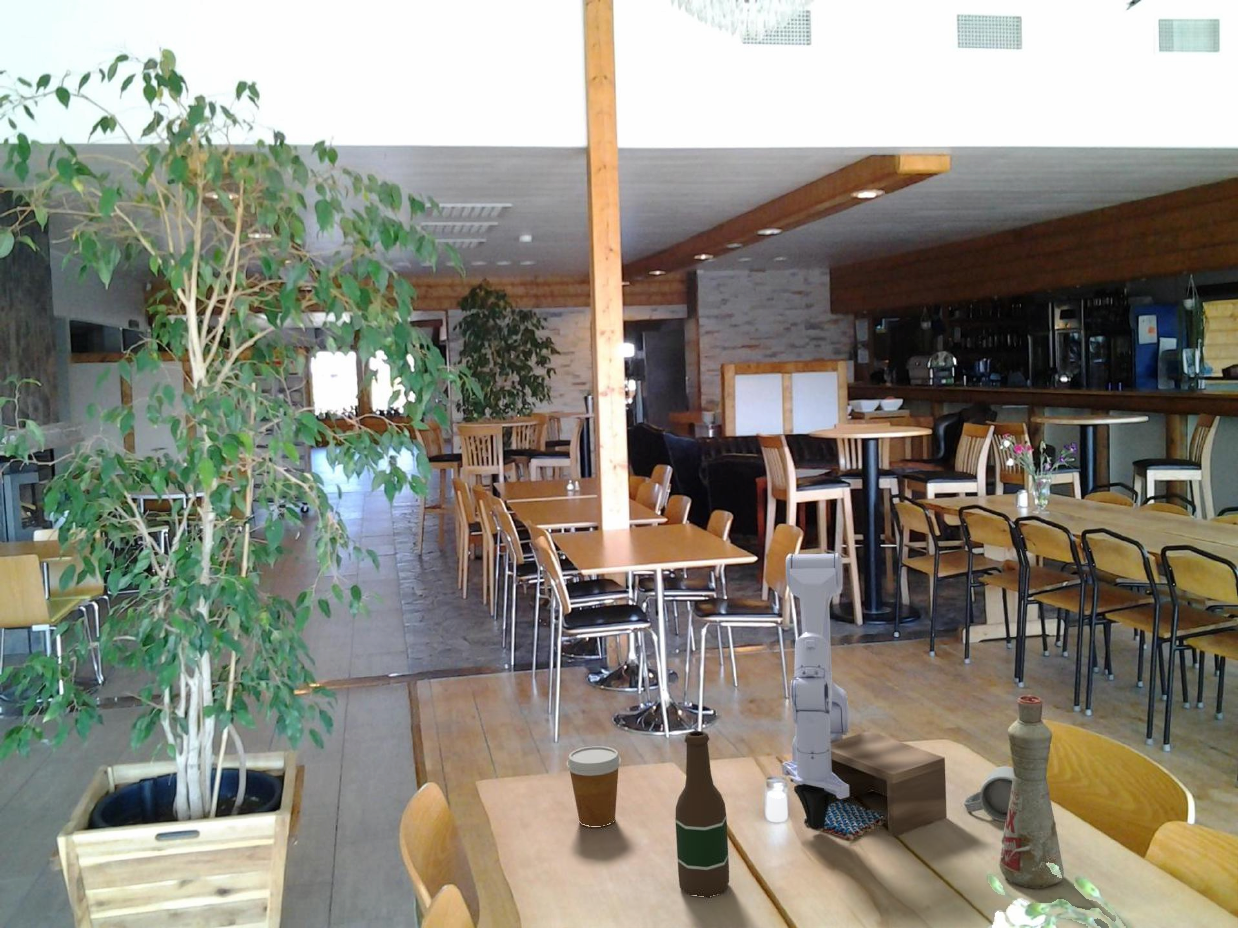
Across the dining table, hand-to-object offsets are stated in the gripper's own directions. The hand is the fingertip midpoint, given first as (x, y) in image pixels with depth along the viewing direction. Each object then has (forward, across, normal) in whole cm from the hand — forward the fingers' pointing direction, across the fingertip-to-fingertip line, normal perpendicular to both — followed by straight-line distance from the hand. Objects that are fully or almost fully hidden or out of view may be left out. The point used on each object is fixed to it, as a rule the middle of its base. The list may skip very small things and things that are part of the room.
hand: (816, 827), depth 192 cm
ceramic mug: (+1, +13, +29) cm, 32 cm away
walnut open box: (+1, 0, +15) cm, 15 cm away
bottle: (+1, +32, +14) cm, 35 cm away
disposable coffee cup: (+1, -28, -26) cm, 38 cm away
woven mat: (+2, 0, +6) cm, 7 cm away
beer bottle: (+1, +4, -26) cm, 26 cm away
